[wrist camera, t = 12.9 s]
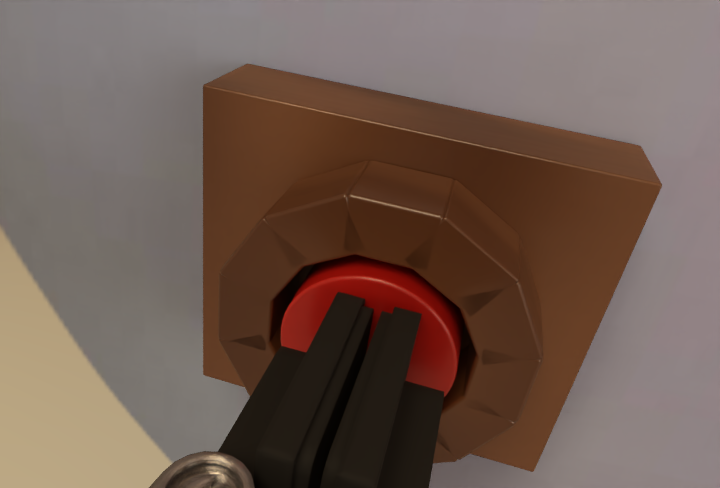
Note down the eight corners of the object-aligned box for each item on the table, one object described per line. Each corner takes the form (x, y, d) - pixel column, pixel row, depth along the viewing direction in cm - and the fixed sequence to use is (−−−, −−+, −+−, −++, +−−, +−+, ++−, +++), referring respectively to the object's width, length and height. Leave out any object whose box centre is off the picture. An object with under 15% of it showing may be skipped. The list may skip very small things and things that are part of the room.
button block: (236, 327, 17) (168, 424, 14) (246, 62, 13) (153, 108, 10) (532, 410, 16) (535, 537, 13) (641, 145, 12) (688, 229, 9)
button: (299, 345, 14) (273, 395, 12) (315, 216, 12) (285, 256, 11) (445, 386, 13) (435, 443, 12) (483, 257, 12) (477, 305, 10)
